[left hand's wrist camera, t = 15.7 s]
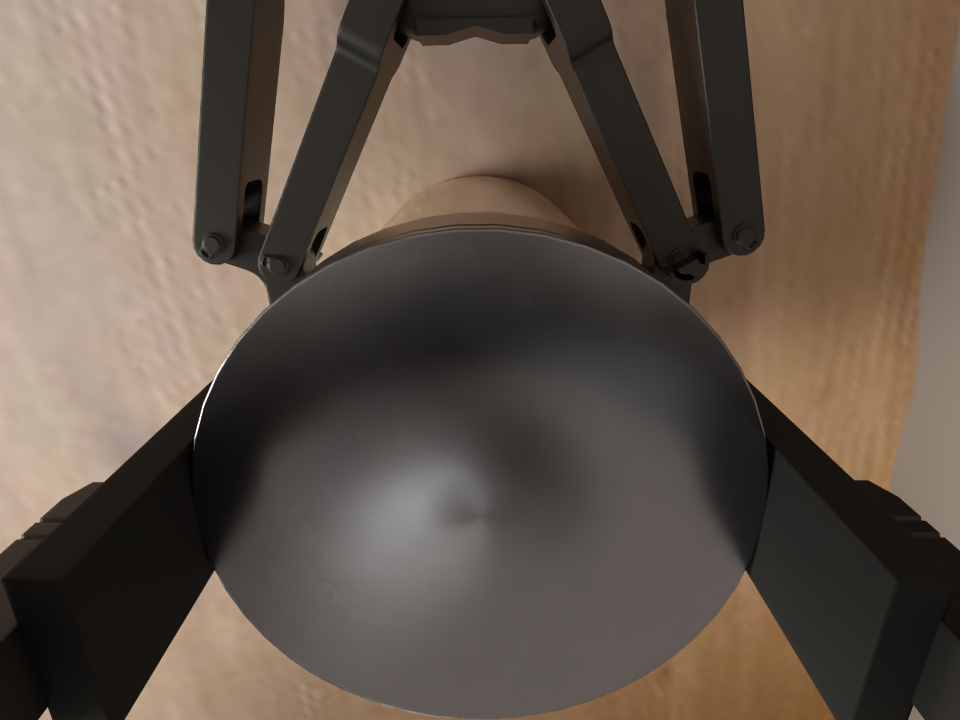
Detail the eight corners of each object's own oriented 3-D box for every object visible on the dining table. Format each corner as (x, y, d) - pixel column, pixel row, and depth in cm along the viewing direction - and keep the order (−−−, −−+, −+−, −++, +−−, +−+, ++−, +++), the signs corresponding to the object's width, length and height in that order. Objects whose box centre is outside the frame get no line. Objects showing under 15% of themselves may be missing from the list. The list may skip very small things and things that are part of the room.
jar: (371, 166, 24) (203, 224, 9) (604, 184, 24) (793, 268, 9) (370, 381, 27) (244, 669, 13) (573, 395, 27) (678, 693, 13)
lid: (318, 673, 14) (295, 750, 13) (154, 273, 11) (89, 302, 9) (738, 608, 14) (777, 680, 12) (709, 156, 10) (759, 161, 8)
